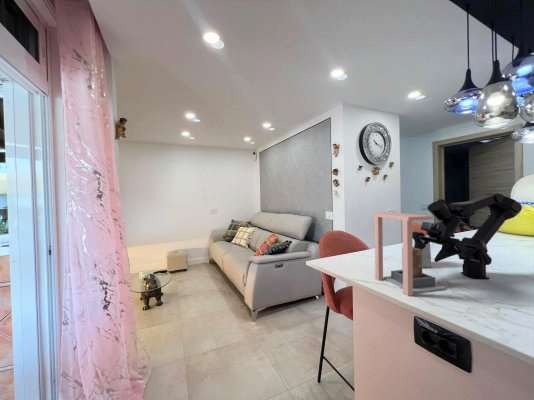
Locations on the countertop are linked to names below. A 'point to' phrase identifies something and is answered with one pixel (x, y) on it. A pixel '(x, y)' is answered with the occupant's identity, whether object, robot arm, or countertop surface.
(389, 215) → the pink arch frame
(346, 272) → the countertop surface
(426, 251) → the skincare box
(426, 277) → the socket
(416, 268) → the walnut peg
